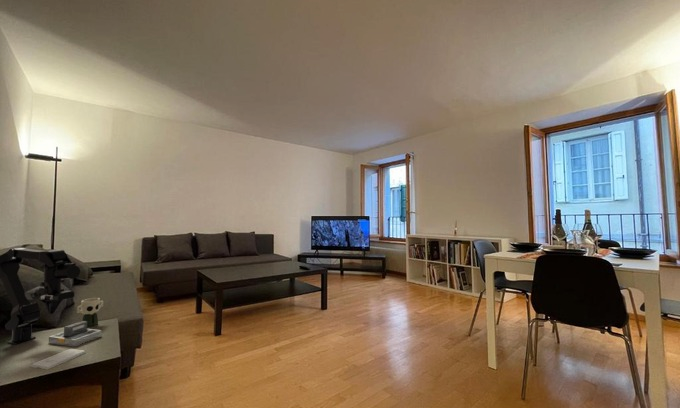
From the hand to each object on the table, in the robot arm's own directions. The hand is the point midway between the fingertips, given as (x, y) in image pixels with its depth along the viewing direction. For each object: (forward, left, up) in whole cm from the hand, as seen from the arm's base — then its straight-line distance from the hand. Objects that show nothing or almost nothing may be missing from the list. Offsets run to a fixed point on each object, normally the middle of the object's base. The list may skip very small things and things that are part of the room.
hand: (51, 314), depth 123 cm
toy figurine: (-3, +18, -12) cm, 22 cm away
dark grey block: (+9, +4, -11) cm, 15 cm away
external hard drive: (+23, -11, -13) cm, 28 cm away
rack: (+9, +4, -12) cm, 16 cm away
